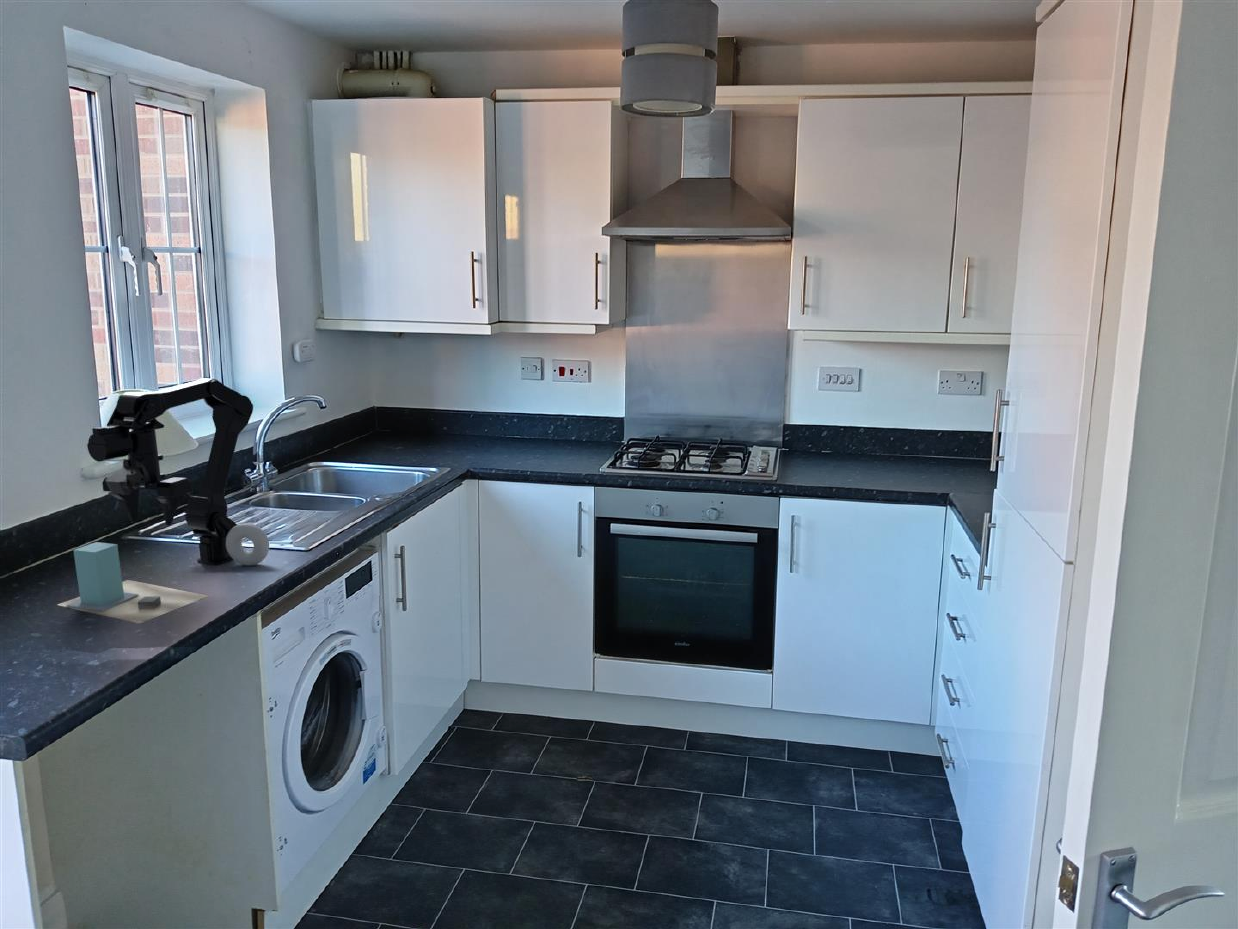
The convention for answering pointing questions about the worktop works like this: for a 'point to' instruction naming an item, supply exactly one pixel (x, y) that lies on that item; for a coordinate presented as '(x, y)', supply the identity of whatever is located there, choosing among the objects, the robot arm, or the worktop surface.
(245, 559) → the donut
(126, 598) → the coaster
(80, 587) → the tall teal block
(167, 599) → the board
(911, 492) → the worktop surface
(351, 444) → the worktop surface
